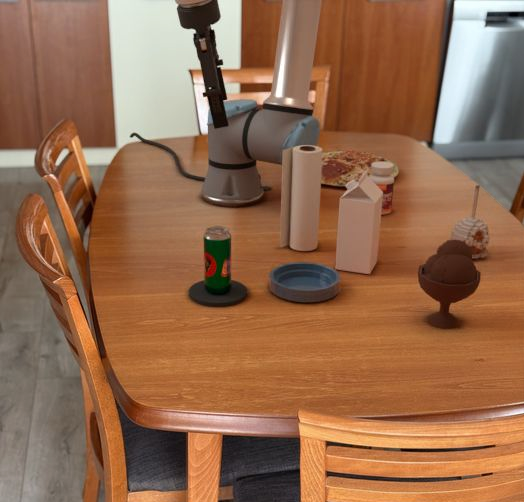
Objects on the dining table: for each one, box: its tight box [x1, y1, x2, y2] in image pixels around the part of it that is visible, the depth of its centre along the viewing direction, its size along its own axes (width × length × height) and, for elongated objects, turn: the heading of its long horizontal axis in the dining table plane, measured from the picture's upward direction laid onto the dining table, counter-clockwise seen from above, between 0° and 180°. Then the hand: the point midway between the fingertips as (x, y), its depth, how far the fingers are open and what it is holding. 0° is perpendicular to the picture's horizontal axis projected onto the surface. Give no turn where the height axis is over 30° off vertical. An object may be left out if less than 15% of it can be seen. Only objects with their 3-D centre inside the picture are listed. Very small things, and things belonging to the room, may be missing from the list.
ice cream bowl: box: [417, 239, 482, 329], centre depth 150 cm, size 11×11×15 cm
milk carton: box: [334, 170, 383, 275], centre depth 170 cm, size 7×7×19 cm
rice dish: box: [321, 148, 400, 187], centre depth 229 cm, size 28×28×5 cm
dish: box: [268, 261, 342, 303], centre depth 164 cm, size 13×13×3 cm
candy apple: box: [449, 184, 491, 260], centre depth 178 cm, size 8×8×15 cm
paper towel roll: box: [279, 145, 323, 252], centre depth 179 cm, size 7×6×21 cm
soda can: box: [203, 225, 232, 295], centre depth 159 cm, size 5×5×12 cm
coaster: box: [188, 279, 248, 308], centre depth 162 cm, size 11×11×1 cm
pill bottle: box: [368, 162, 395, 216], centre depth 202 cm, size 6×6×11 cm
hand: (221, 113), depth 166 cm, fingers open, 13 cm apart
